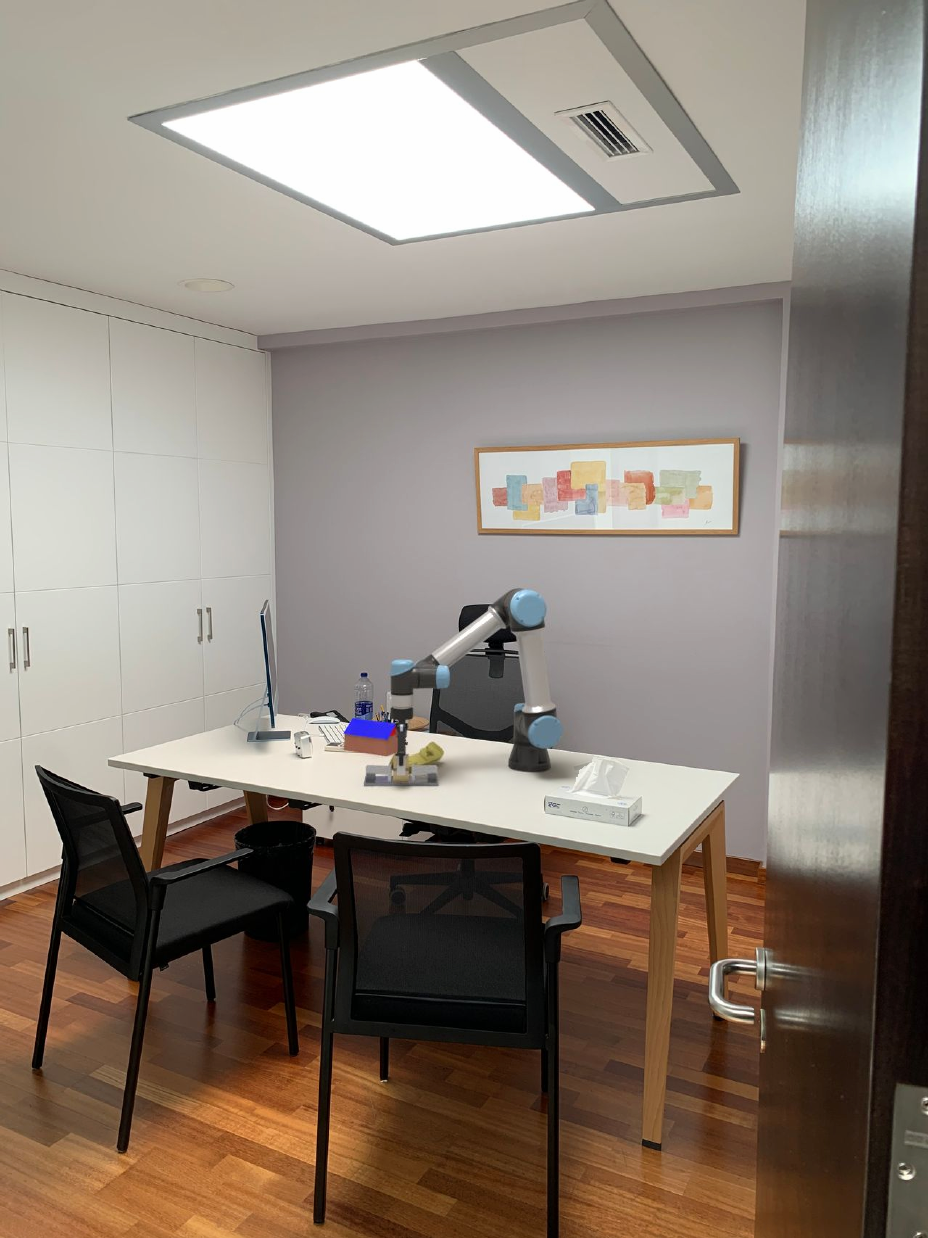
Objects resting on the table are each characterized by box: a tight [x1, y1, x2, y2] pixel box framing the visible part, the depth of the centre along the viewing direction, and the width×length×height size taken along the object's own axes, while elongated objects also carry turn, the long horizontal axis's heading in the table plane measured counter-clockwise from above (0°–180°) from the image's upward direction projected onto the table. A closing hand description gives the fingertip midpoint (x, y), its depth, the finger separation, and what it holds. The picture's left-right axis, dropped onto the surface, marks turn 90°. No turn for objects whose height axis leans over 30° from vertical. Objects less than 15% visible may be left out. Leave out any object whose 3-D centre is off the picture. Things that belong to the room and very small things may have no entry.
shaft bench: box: [363, 763, 439, 787], centre depth 303 cm, size 24×9×6 cm, turn 93°
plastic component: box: [388, 741, 445, 774], centre depth 325 cm, size 20×7×10 cm
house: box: [343, 717, 398, 757], centre depth 349 cm, size 12×20×12 cm, turn 61°
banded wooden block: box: [392, 753, 410, 781], centre depth 303 cm, size 5×5×8 cm
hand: (401, 770), depth 303 cm, fingers open, 13 cm apart
